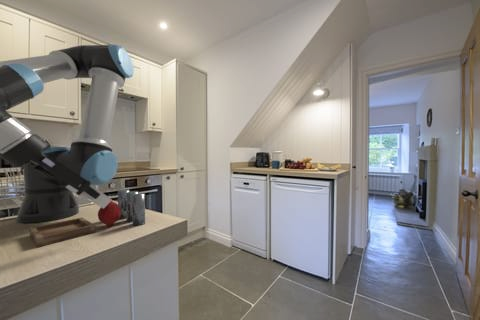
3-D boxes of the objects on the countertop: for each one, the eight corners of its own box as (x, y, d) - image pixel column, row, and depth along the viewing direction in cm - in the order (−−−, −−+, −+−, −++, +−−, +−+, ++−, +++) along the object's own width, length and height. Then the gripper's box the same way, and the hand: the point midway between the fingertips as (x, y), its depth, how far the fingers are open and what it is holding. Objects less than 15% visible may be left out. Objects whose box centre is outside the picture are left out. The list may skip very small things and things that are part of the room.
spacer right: (130, 224, 60) (130, 194, 60) (141, 221, 63) (141, 192, 63) (135, 226, 58) (135, 195, 58) (147, 223, 61) (146, 194, 61)
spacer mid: (124, 220, 64) (124, 192, 64) (135, 217, 67) (135, 190, 66) (129, 222, 62) (129, 193, 62) (140, 219, 64) (140, 192, 64)
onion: (125, 222, 62) (125, 197, 61) (112, 229, 56) (111, 201, 56) (108, 222, 62) (107, 196, 62) (92, 229, 56) (92, 200, 56)
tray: (29, 235, 52) (29, 227, 52) (82, 223, 61) (82, 217, 60) (37, 247, 45) (37, 238, 45) (95, 232, 54) (95, 225, 54)
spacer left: (116, 217, 66) (116, 190, 66) (127, 215, 69) (126, 189, 69) (121, 219, 64) (120, 192, 64) (131, 217, 67) (131, 190, 67)
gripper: (-6, 155, 49) (73, 204, 61) (0, 155, 34) (103, 221, 46) (26, 135, 53) (93, 185, 65) (43, 127, 38) (128, 194, 50)
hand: (98, 200), depth 56 cm, fingers open, 13 cm apart
